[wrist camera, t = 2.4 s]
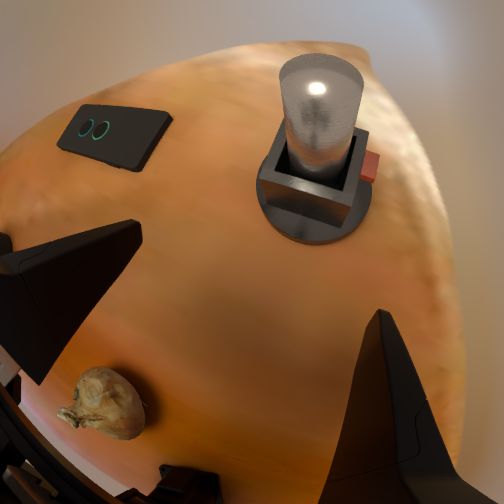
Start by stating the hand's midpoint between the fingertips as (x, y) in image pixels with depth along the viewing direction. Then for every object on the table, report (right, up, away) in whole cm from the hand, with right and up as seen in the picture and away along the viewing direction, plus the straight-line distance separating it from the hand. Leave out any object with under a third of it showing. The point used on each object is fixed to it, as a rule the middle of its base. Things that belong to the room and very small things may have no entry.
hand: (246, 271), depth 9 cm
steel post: (+5, +6, +13) cm, 15 cm away
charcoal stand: (+6, +6, +15) cm, 17 cm away
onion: (-13, -14, +14) cm, 24 cm away
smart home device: (-19, +17, +22) cm, 34 cm away
